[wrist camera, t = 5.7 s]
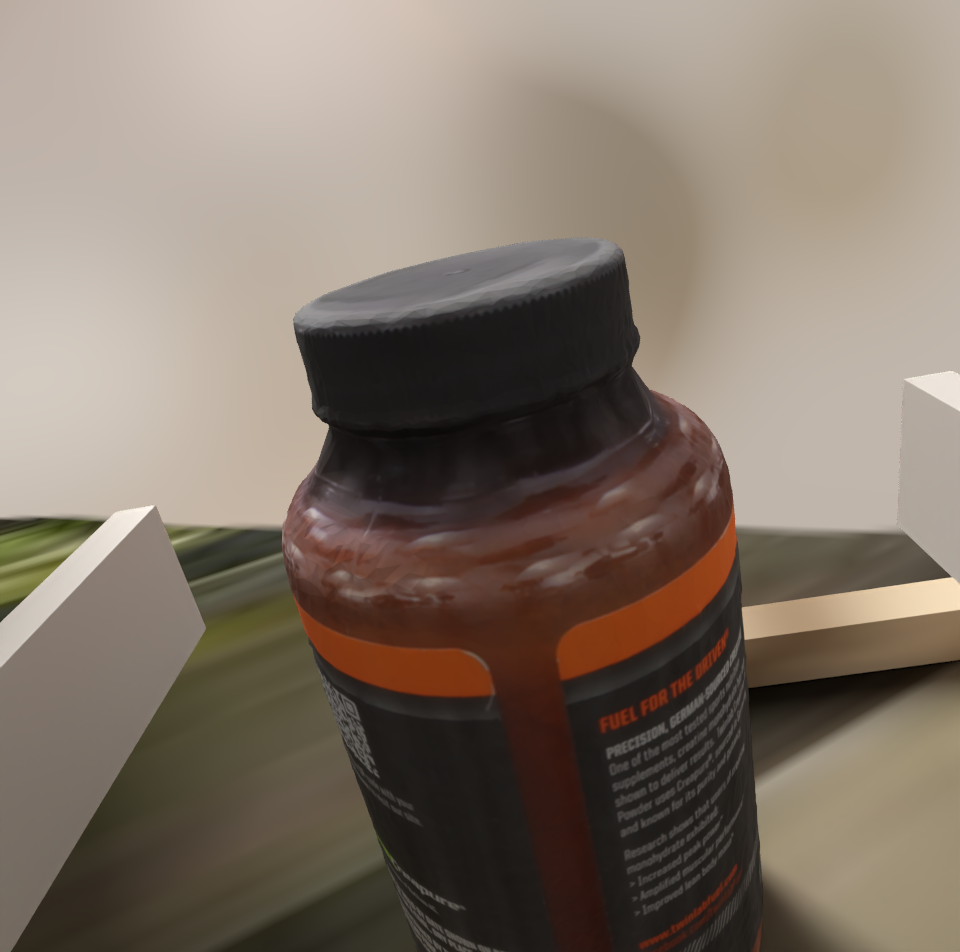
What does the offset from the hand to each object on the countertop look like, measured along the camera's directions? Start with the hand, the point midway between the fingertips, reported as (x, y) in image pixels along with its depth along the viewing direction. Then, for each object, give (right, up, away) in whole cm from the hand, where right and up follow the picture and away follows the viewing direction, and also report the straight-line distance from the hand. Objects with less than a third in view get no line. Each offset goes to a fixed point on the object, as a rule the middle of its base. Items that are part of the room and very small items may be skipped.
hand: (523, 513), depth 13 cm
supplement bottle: (+1, -7, 0) cm, 7 cm away
